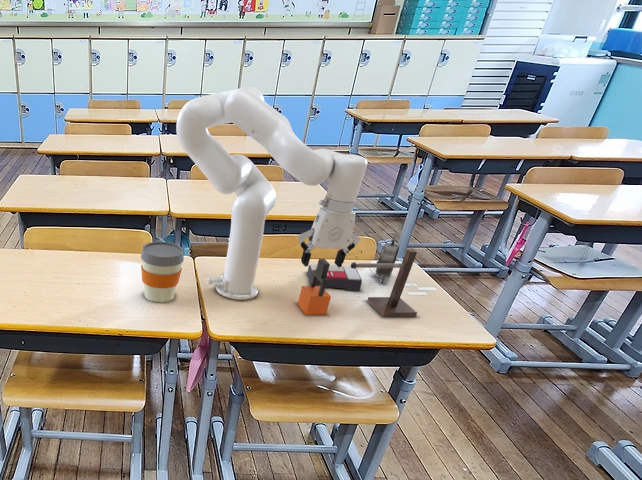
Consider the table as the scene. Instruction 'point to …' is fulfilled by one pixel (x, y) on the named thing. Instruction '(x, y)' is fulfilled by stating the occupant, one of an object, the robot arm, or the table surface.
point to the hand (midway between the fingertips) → (321, 264)
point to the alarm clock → (387, 258)
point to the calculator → (339, 277)
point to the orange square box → (316, 292)
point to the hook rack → (394, 303)
